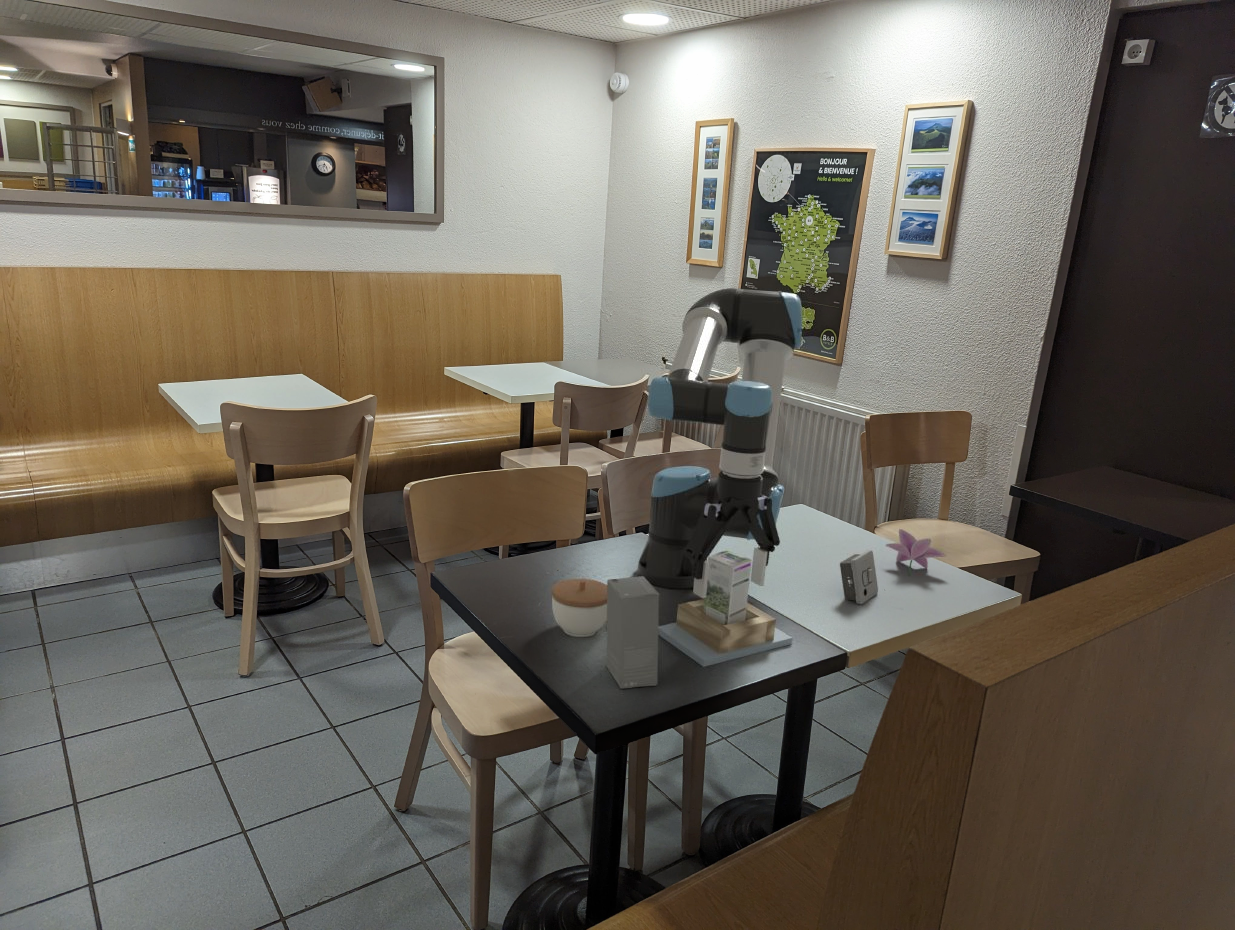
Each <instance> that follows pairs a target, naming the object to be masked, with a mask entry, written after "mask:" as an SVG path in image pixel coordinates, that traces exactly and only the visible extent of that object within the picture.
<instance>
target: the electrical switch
mask: <svg viewBox="0 0 1235 930" xmlns="http://www.w3.org/2000/svg"><path fill="white" fill-rule="evenodd" d="M875 563H876V562H875V555H874V552H873V550H866V551H864V552H863V553H861V554H859V553H854V554H853V555H851V556H850V557H848V558H846V559H845V560H844V559H843V560H842V561H840V562H839V569H840V574H841V575H840V576H841V581H842V583H841V584H842V590H843V595H844V600H847V601H855V602H856V604H857V605H863V604H864V603H866V602H868V601H869V600H871V598H873V597H874V596H876V595H878V592H879V587H878V579H877V572H876V566H875V565H876V564H875Z"/></svg>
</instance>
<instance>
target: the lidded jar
mask: <svg viewBox="0 0 1235 930" xmlns="http://www.w3.org/2000/svg"><path fill="white" fill-rule="evenodd" d="M551 596H552V599H551V600H552V601H551V603H552V606H551V607H552V613H553V616H554V620H555V622H556V623H557V625H558V626H559V627H560V628H561V629H562V631H563V632H564V633H565V634H567V635H568V636H570V637H575V638H587V637H588V638H589V637H592V636H593V635H595V634H597V632H598V631H599V630H600V629H601V628H602V627H604V625H605V624H606V623H607V583H603V582H602V581H599V580H595V579H590V578H570V579H569V578H568V579H563V580H561V581H559V582H556V583H555V584H554V585H553V586H552V588H551Z"/></svg>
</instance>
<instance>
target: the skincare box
mask: <svg viewBox="0 0 1235 930" xmlns="http://www.w3.org/2000/svg"><path fill="white" fill-rule="evenodd" d="M606 585H607V620H606V667H607V670H608V671H609V672H610V674H611V676H612V678H613V679H614V680H615V682H616V683H617V685H618V686H619V688H620V689H632V688H639V687H652V686H657V685H658V680H659V679H658V674H659V672H658V667H659V663H658V662H659V635H658V626H659V616H660V615H659V611H660V609H659V608H660V593H659V592H658V591H657V590H656V589H655V587H654V586H653V584H651V583H649V582H648V581H647V580H646V579H645V577H644V576H641V577H639V576H634V577H633V576H632V577H622V578H621V577H619V578H611V579H607V582H606Z"/></svg>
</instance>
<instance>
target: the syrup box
mask: <svg viewBox="0 0 1235 930" xmlns="http://www.w3.org/2000/svg"><path fill="white" fill-rule="evenodd" d="M707 561H708V562H709V572H708V582H707V592H706V598H703V599H704V611H703V613H704V614H706V615H707V616H709V617H710V618H712V619H714V620H715V621H717V622H718V623H720V624H722V625H727V624H731V623H736V622H740V621H744V620H745V618H746V608H747V603H748V599H749V598H748V597H749V587H750V582H751V573H752V562H753V559H751V558H748V557H745V556H743V555H740V554H737V553H734V552H732V551H728V550H723V551H719V552H717V553H714V554H712V555H709V556H708V558H707Z"/></svg>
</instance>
